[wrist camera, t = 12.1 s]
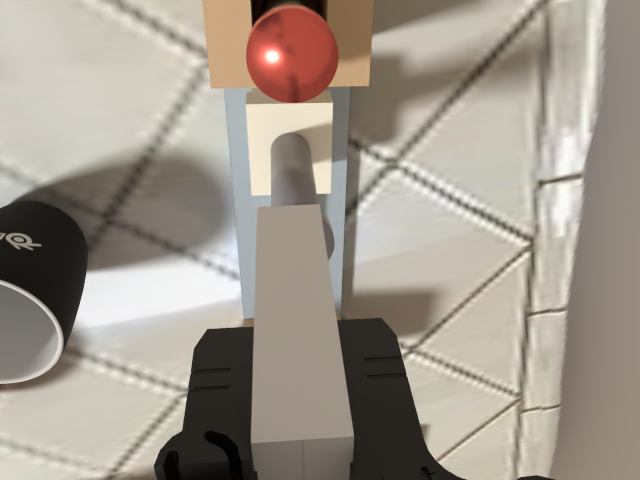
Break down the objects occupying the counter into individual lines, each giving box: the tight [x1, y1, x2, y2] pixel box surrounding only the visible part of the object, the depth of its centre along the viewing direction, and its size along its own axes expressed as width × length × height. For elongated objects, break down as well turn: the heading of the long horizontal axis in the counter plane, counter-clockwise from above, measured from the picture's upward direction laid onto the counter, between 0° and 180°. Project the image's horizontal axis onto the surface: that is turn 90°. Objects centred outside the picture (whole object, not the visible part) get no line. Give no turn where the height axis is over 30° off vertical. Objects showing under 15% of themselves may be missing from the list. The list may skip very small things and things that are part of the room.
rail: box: [202, 0, 374, 327], centre depth 38 cm, size 32×8×9 cm, turn 179°
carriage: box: [246, 88, 335, 260], centre depth 32 cm, size 6×5×14 cm
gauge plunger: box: [246, 0, 339, 103], centre depth 28 cm, size 4×4×9 cm
